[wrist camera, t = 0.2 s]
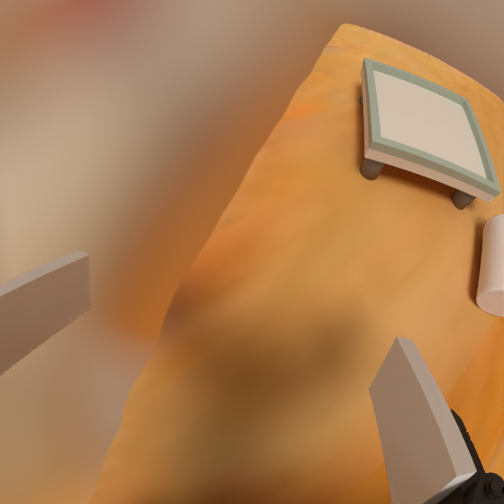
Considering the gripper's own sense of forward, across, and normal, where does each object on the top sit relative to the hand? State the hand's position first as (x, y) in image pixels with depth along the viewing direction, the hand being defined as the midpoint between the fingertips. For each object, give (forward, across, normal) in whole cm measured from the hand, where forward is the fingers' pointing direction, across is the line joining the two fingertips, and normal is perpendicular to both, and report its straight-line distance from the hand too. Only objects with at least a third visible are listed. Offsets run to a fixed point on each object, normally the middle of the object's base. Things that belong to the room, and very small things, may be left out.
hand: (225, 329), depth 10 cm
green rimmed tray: (+29, -16, -15) cm, 37 cm away
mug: (+20, -31, -2) cm, 37 cm away
